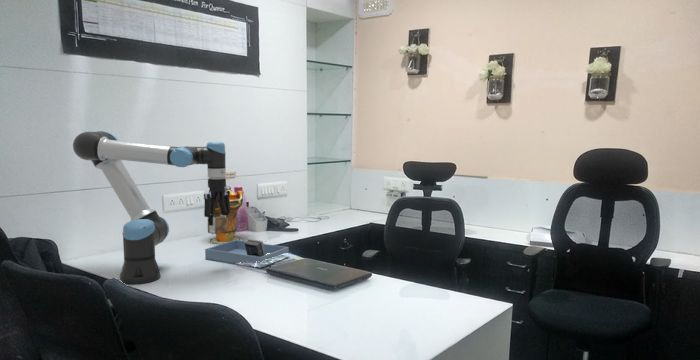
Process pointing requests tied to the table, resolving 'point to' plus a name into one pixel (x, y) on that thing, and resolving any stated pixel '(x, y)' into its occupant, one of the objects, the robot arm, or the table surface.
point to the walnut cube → (220, 225)
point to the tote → (240, 252)
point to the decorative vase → (229, 218)
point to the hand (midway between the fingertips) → (217, 231)
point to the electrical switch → (255, 247)
